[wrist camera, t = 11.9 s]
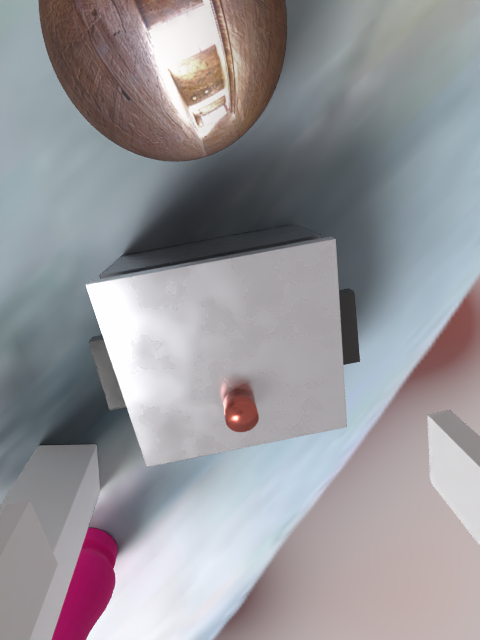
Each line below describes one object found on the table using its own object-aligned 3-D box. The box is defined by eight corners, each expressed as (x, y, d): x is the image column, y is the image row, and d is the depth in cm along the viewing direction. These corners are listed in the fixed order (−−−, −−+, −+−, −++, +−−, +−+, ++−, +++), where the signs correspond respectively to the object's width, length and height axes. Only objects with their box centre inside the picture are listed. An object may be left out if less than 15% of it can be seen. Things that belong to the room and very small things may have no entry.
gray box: (95, 260, 38) (65, 281, 29) (319, 219, 38) (353, 228, 30) (138, 412, 43) (123, 468, 34) (335, 373, 43) (368, 419, 35)
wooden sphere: (173, 203, 37) (156, 213, 23) (38, 54, 32) (-87, -49, 18) (303, 80, 35) (374, 6, 21) (178, -97, 30) (158, -344, 16)
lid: (88, 281, 27) (78, 296, 25) (331, 236, 28) (346, 246, 25) (147, 460, 34) (144, 486, 31) (343, 420, 34) (355, 443, 32)
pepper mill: (119, 521, 47) (63, 750, 28) (124, 570, 49) (77, 813, 30) (52, 526, 46) (-51, 763, 27) (61, 575, 48) (-28, 827, 29)
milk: (101, 490, 45) (17, 751, 24) (43, 492, 45) (-93, 762, 24) (97, 442, 43) (3, 682, 23) (36, 443, 43) (-117, 691, 22)
